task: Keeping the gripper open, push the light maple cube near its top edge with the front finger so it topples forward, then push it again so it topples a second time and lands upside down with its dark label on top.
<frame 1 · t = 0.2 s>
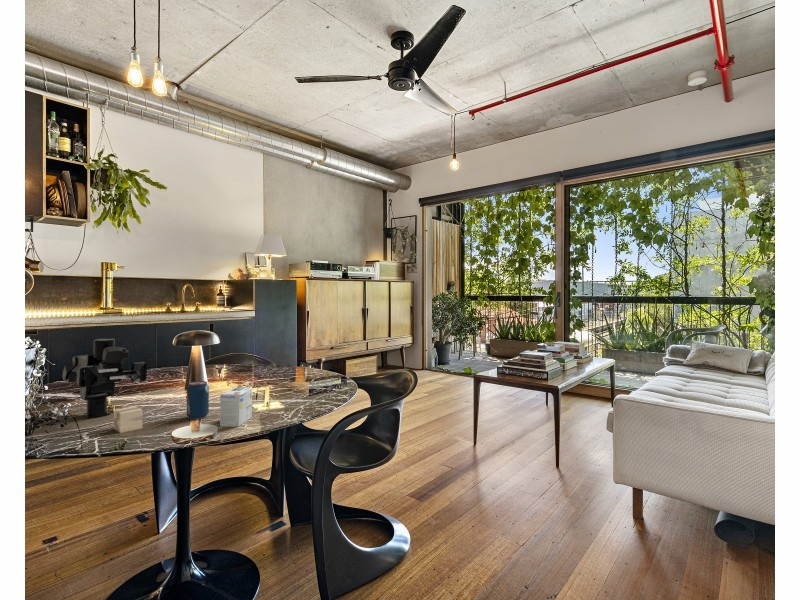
hand: (123, 378, 126), 16 cm above the table, tool horizontal, fingers open, 9 cm apart
light bulb box: (236, 422, 137), on the table
maple block: (128, 428, 129), on the table
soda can: (197, 417, 142), on the table
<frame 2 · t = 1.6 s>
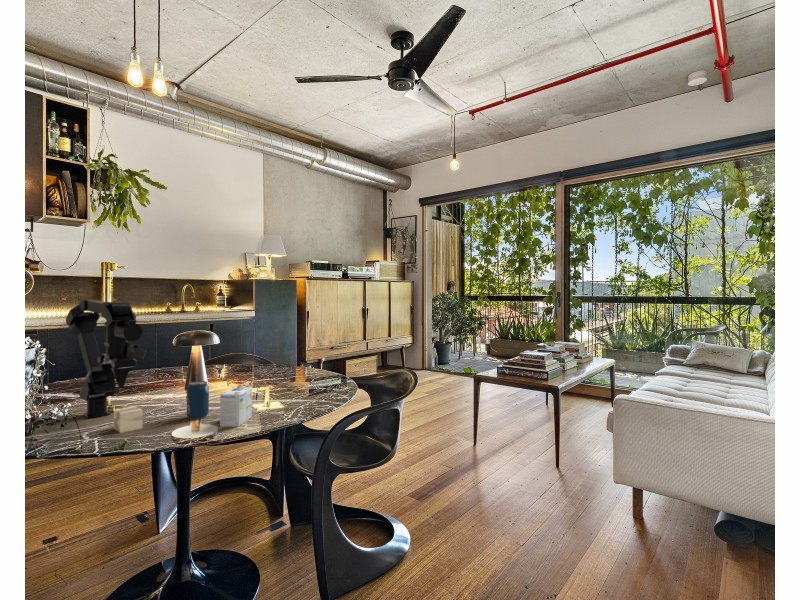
hand: (116, 385, 136), 12 cm above the table, tool pointing down, fingers open, 9 cm apart
nothing on the table moved.
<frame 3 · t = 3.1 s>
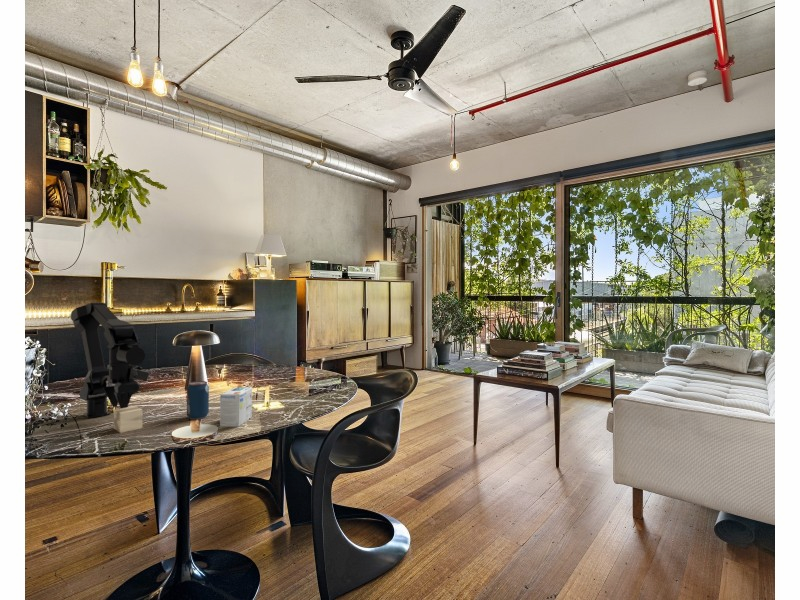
hand: (119, 409, 134), 5 cm above the table, tool pointing down, fingers open, 8 cm apart
maple block: (128, 428, 129), on the table, touching gripper
everything else where it was.
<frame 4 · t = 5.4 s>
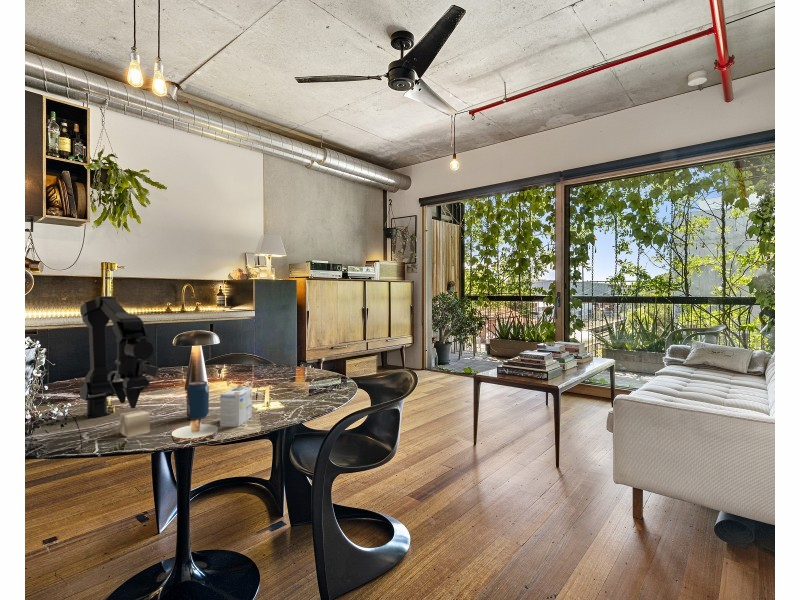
hand: (127, 405, 129), 7 cm above the table, tool pointing down, fingers open, 9 cm apart
maple block: (131, 421, 127), point 3 cm above the table, tilted 90°
everything else where it was.
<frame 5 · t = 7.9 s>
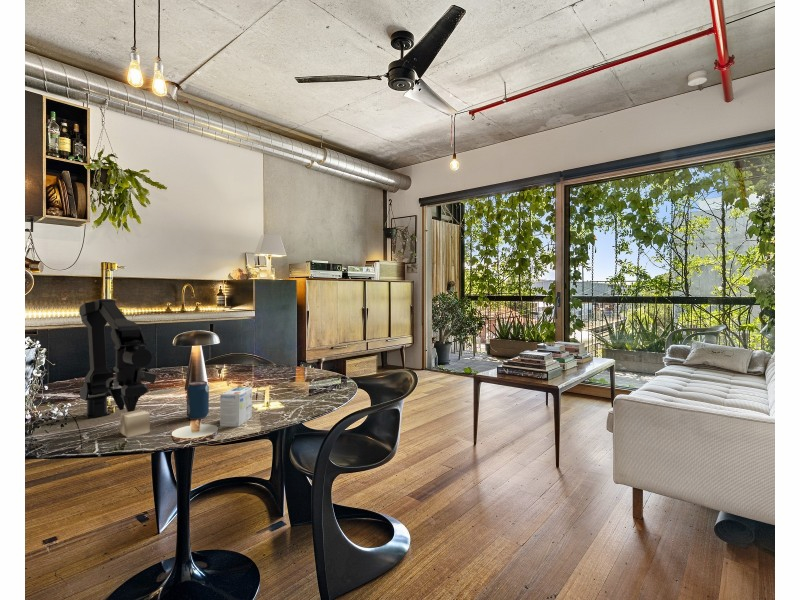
hand: (126, 412, 130), 5 cm above the table, tool pointing down, fingers open, 8 cm apart
maple block: (131, 420, 127), point 3 cm above the table, tilted 91°, touching gripper
everything else where it was.
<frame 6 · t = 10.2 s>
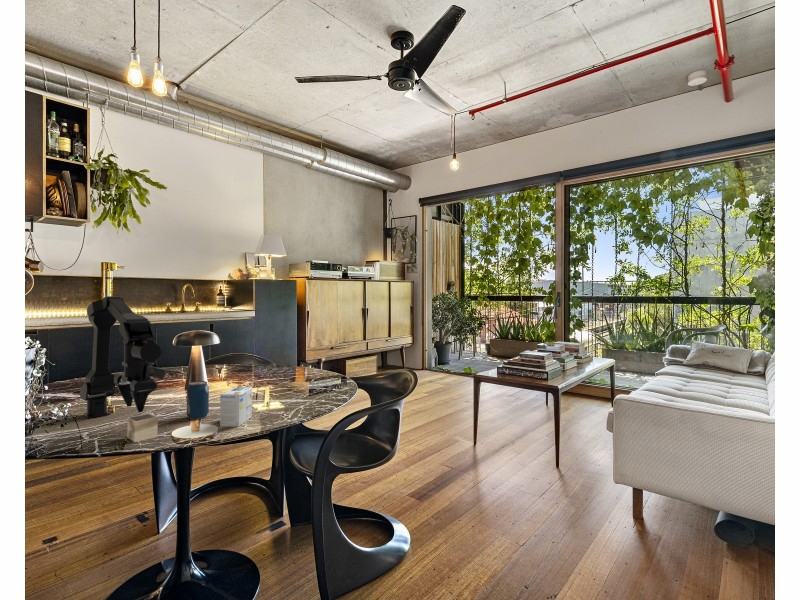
hand: (134, 409, 125), 7 cm above the table, tool pointing down, fingers open, 9 cm apart
maple block: (142, 417, 121), point 6 cm above the table, tilted 180°
everything else where it was.
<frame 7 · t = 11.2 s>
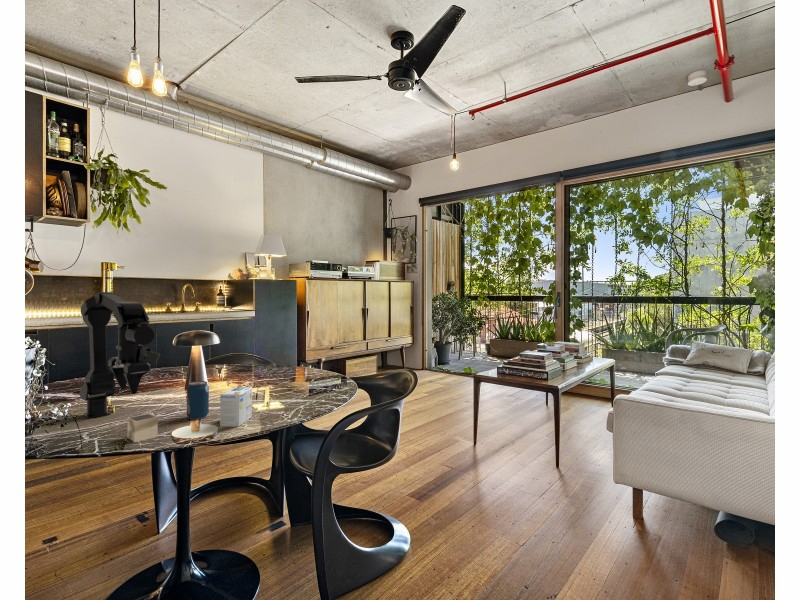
hand: (128, 391, 129), 12 cm above the table, tool pointing down, fingers open, 9 cm apart
nothing on the table moved.
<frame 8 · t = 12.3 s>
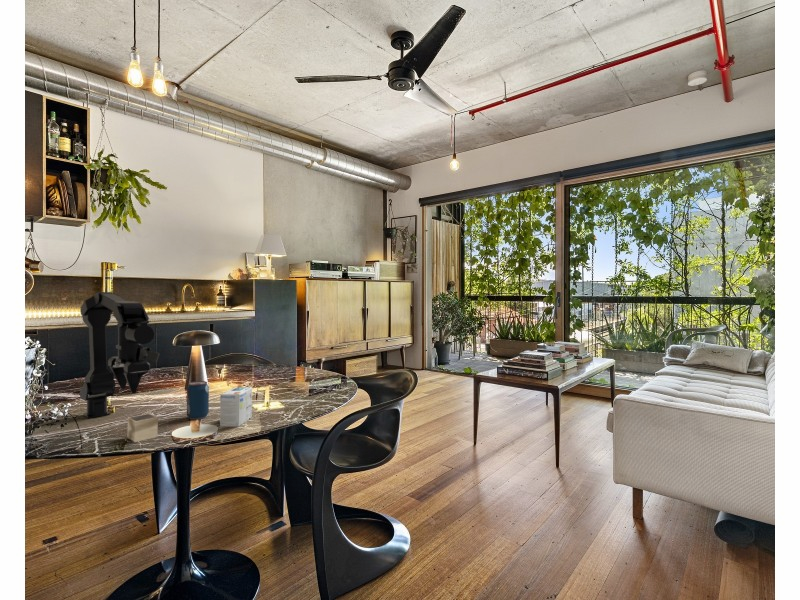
hand: (128, 390, 129), 12 cm above the table, tool pointing down, fingers open, 9 cm apart
nothing on the table moved.
at the end: maple block tilted 180°; maple block point 5.9 cm above the table; maple block inside the target area (1.1 cm from its centre), point 5.9 cm above the table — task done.
